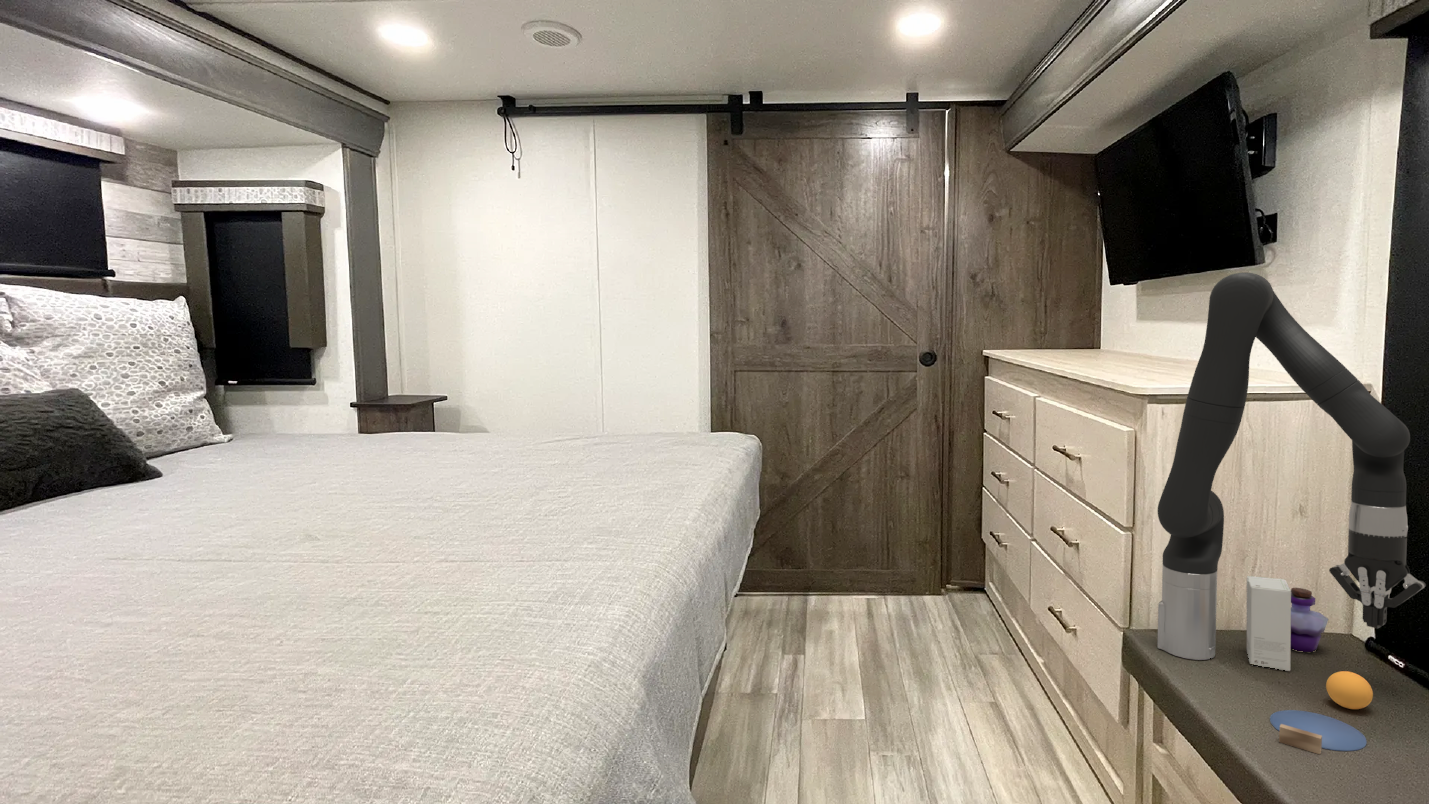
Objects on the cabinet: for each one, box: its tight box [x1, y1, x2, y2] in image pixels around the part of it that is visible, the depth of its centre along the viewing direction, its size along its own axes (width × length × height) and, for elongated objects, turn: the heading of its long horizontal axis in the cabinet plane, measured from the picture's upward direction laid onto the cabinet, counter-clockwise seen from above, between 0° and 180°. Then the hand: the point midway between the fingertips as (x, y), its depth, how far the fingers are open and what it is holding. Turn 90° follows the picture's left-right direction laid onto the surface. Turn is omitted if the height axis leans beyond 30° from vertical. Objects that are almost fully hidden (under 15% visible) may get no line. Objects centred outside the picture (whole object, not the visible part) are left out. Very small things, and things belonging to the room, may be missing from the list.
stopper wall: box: [1278, 724, 1323, 755], centre depth 114 cm, size 5×1×2 cm, turn 43°
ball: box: [1325, 670, 1374, 710], centre depth 125 cm, size 6×6×6 cm
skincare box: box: [1246, 575, 1292, 672], centre depth 142 cm, size 8×7×16 cm
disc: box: [1269, 709, 1367, 752], centre depth 118 cm, size 12×12×1 cm
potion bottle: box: [1290, 587, 1329, 652], centre depth 148 cm, size 9×9×12 cm
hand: (1374, 626), depth 129 cm, fingers closed
